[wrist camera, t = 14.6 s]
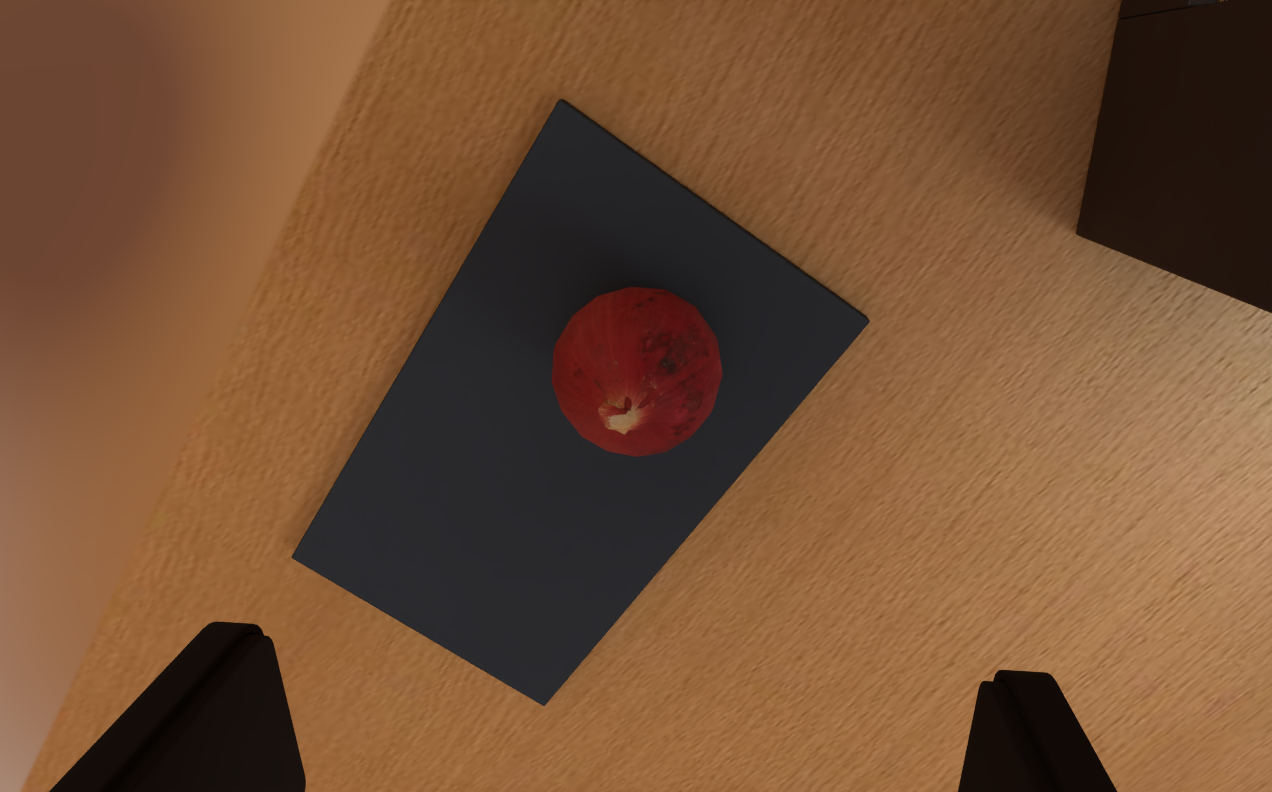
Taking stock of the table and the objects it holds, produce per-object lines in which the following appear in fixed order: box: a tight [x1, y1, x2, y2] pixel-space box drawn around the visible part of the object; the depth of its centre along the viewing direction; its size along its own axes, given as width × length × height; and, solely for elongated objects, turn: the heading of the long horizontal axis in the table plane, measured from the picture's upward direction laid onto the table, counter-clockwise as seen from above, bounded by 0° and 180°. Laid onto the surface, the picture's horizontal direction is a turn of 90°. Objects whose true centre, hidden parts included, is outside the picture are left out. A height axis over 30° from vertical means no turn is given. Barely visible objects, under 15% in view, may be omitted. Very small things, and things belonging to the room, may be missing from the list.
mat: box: [292, 99, 870, 706], centre depth 33 cm, size 24×14×1 cm, turn 146°
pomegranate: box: [552, 287, 722, 457], centre depth 26 cm, size 6×6×8 cm
